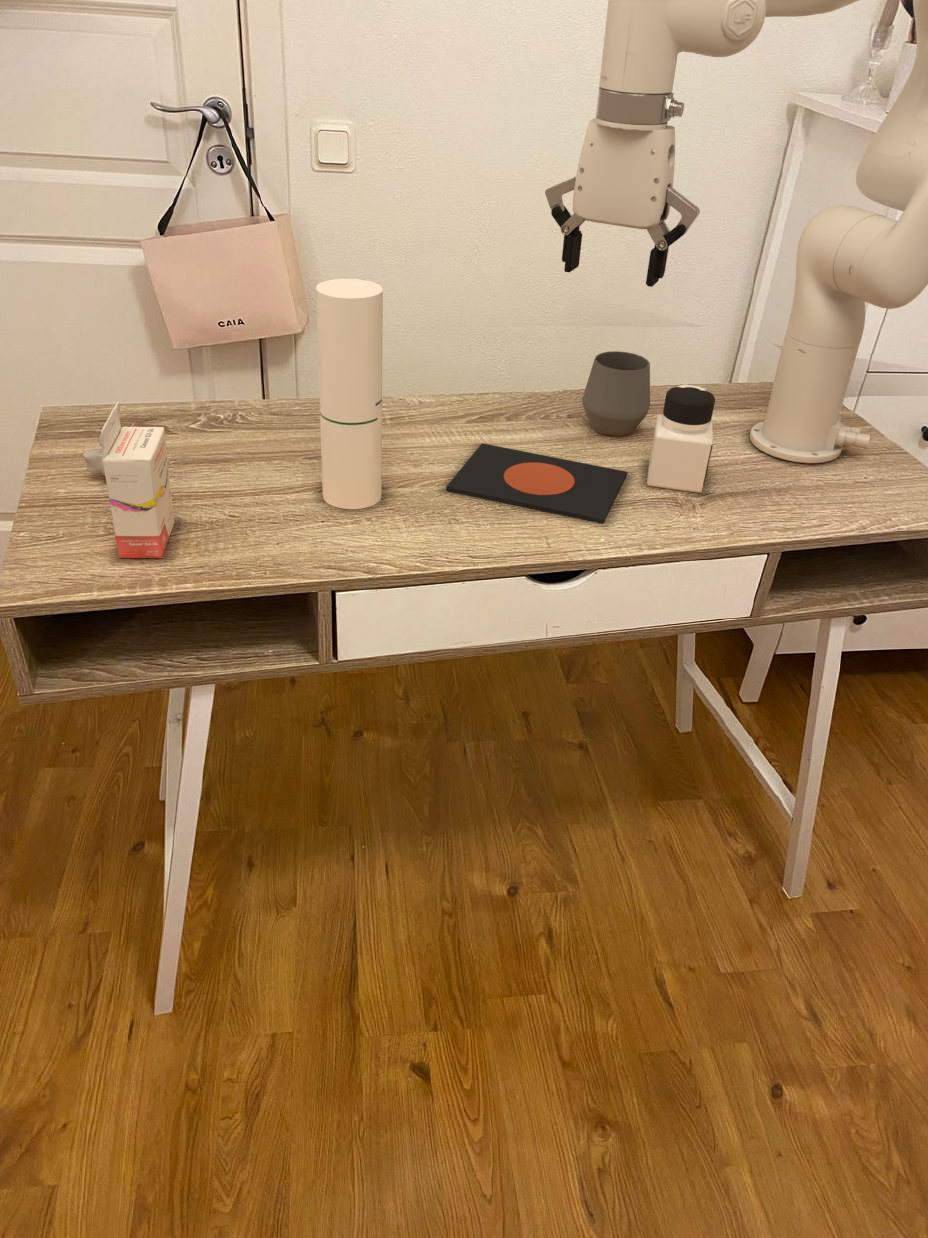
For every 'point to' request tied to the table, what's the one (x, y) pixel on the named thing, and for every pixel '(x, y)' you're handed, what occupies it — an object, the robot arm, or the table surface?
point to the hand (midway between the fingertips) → (611, 276)
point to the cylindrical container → (350, 391)
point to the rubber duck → (95, 458)
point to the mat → (539, 482)
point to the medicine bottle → (682, 440)
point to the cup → (617, 393)
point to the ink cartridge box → (137, 487)
